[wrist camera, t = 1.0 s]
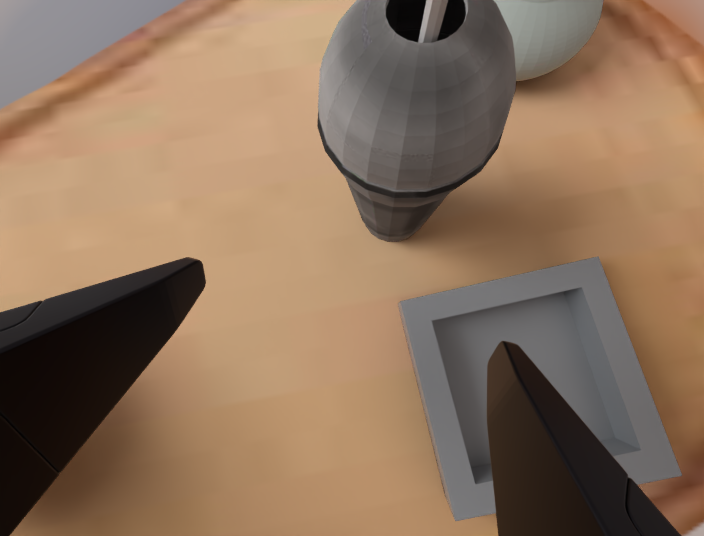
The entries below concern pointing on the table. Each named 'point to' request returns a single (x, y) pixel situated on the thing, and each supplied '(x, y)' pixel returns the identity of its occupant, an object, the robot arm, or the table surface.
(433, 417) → the tray
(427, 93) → the beverage cup
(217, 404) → the table surface
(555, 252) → the table surface
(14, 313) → the robot arm
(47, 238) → the table surface
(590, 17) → the air freshener
